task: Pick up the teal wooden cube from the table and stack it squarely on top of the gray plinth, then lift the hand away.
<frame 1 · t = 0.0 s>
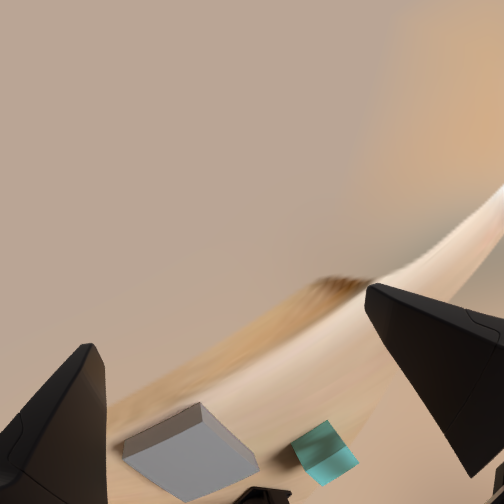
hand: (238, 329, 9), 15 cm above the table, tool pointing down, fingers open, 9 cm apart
gray plinth: (190, 449, 26), on the table
teal cube: (316, 440, 30), on the table
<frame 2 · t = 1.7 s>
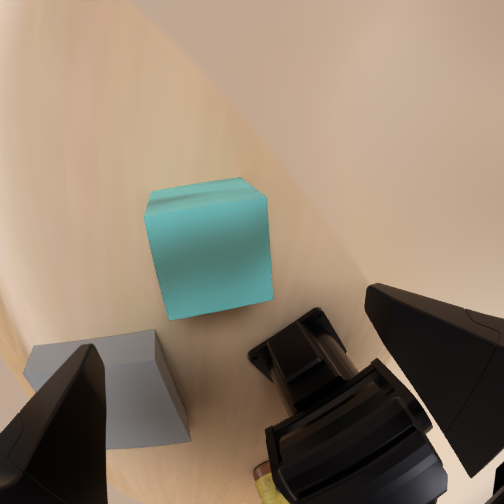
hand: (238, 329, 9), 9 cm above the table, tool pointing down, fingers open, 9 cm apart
sauce bottle: (275, 464, 32), on the table
gray plinth: (113, 386, 20), on the table
teal cube: (201, 225, 17), on the table
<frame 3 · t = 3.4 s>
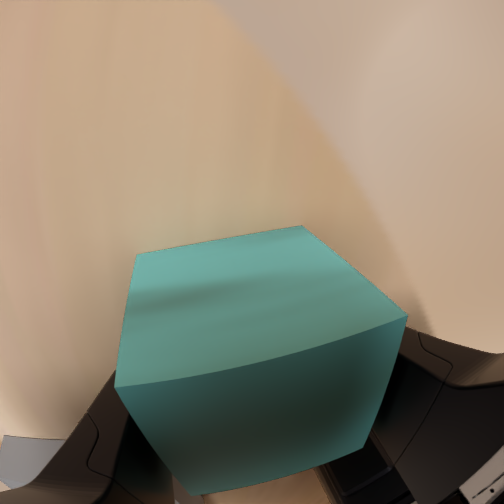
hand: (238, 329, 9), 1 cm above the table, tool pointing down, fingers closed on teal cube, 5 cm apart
gray plinth: (109, 479, 13), on the table
teal cube: (231, 310, 10), on the table, touching gripper
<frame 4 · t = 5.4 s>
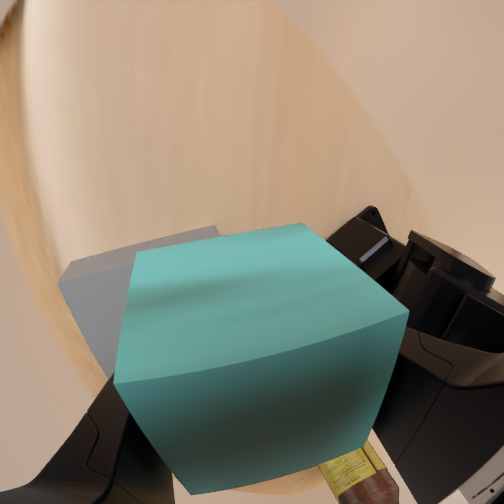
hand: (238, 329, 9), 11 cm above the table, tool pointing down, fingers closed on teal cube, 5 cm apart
sauce bottle: (324, 418, 32), on the table
gray plinth: (160, 308, 20), on the table
teal cube: (231, 307, 10), point 10 cm above the table, touching gripper
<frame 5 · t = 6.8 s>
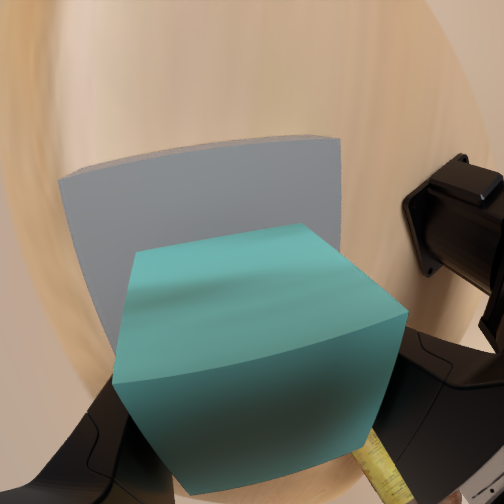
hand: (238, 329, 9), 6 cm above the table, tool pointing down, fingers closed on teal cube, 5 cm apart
sauce bottle: (369, 420, 26), on the table
gray plinth: (209, 254, 14), on the table
teal cube: (230, 308, 10), point 5 cm above the table, touching gripper
when the fingers open (5 cm above the table, at t = 7.6 s): teal cube drops 1 cm, resting on gray plinth.
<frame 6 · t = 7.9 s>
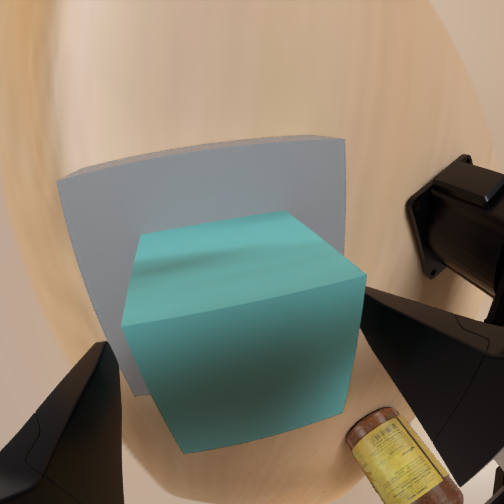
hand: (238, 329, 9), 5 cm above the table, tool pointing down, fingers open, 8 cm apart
sauce bottle: (370, 422, 25), on the table
gray plinth: (211, 256, 14), on the table
teal cube: (223, 286, 11), point 3 cm above the table, touching gray plinth
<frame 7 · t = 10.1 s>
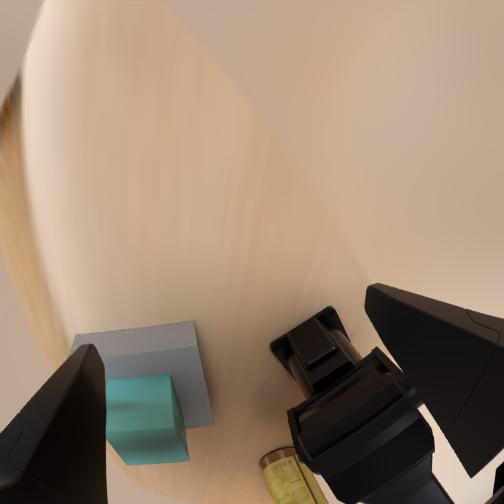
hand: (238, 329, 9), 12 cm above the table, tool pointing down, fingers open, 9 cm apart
sauce bottle: (280, 455, 35), on the table
gray plinth: (146, 373, 24), on the table
teal cube: (146, 397, 21), point 3 cm above the table, touching gray plinth
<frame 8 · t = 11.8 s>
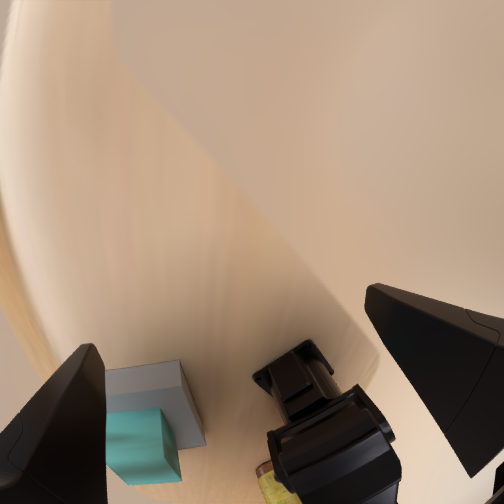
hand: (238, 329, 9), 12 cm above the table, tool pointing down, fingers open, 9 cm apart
sauce bottle: (275, 464, 37), on the table
gray plinth: (141, 403, 25), on the table
teal cube: (142, 426, 22), point 3 cm above the table, touching gray plinth
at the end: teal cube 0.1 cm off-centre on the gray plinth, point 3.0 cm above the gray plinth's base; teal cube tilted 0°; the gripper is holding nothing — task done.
